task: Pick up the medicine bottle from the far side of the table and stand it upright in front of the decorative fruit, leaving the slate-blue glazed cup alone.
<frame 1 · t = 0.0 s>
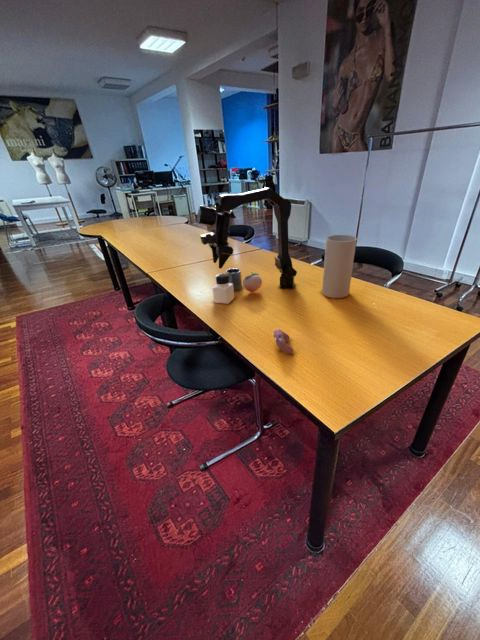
hand: (217, 265, 129), 15 cm above the table, tool pointing down, fingers open, 9 cm apart
medicine bottle: (224, 300, 136), on the table
glazed cup: (234, 288, 148), on the table
decorative fruit: (253, 292, 143), on the table
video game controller: (282, 347, 101), on the table
cylinder vase: (335, 293, 139), on the table
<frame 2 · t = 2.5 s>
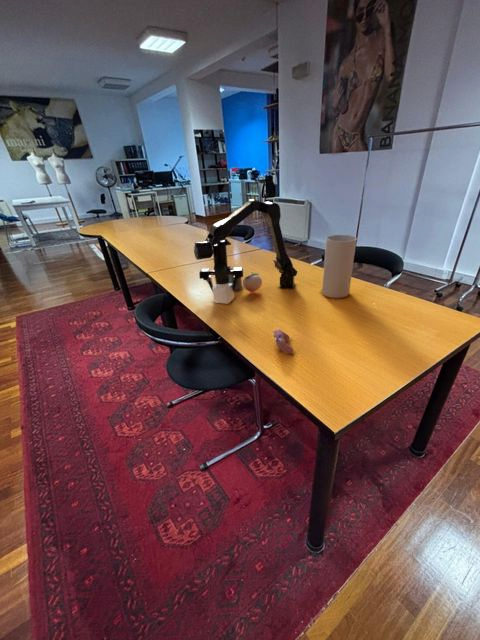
hand: (223, 291, 133), 4 cm above the table, tool pointing down, fingers closed on medicine bottle, 9 cm apart
medicine bottle: (224, 300, 136), on the table, touching gripper
everything else where it was.
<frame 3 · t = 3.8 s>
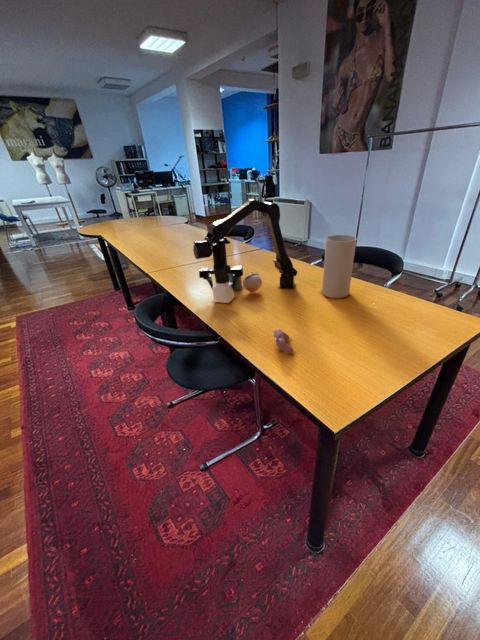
hand: (223, 290, 133), 5 cm above the table, tool pointing down, fingers closed on medicine bottle, 8 cm apart
medicine bottle: (224, 299, 136), on the table, touching gripper
everything else where it was.
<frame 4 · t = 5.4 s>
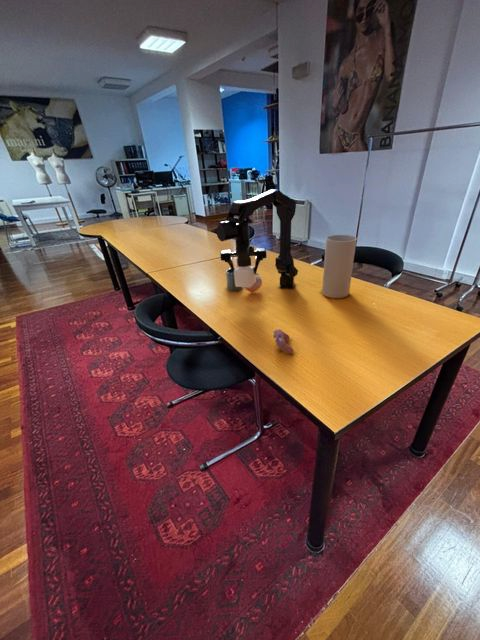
hand: (244, 274, 127), 13 cm above the table, tool pointing down, fingers closed on medicine bottle, 8 cm apart
medicine bottle: (245, 284, 129), point 8 cm above the table, touching gripper
everything else where it was.
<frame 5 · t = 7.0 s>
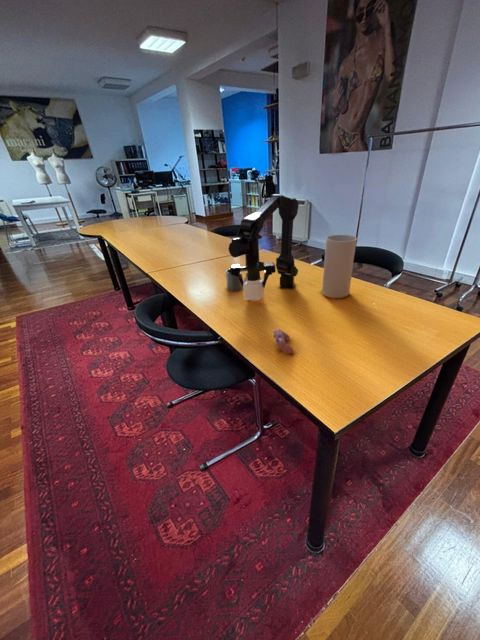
hand: (253, 288, 129), 7 cm above the table, tool pointing down, fingers closed on medicine bottle, 8 cm apart
medicine bottle: (254, 297, 131), point 2 cm above the table, touching gripper
everything else where it was.
when the fingers open (5 cm above the table, at t = 8.2 s): medicine bottle stays where it is, on the table.
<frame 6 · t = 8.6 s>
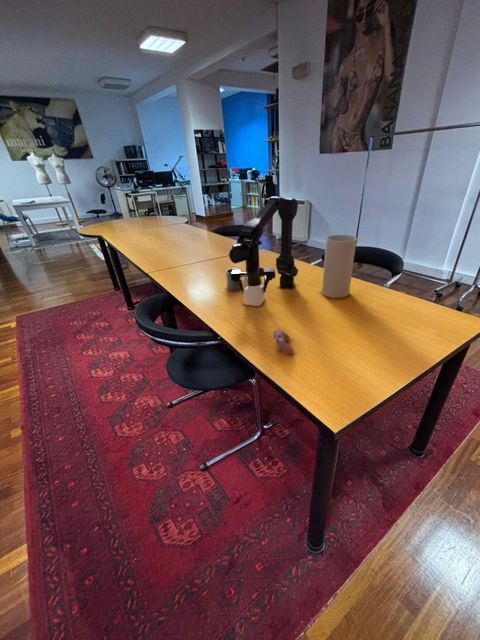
hand: (253, 293, 130), 5 cm above the table, tool pointing down, fingers open, 9 cm apart
medicine bottle: (254, 302, 133), on the table, touching gripper
everything else where it was.
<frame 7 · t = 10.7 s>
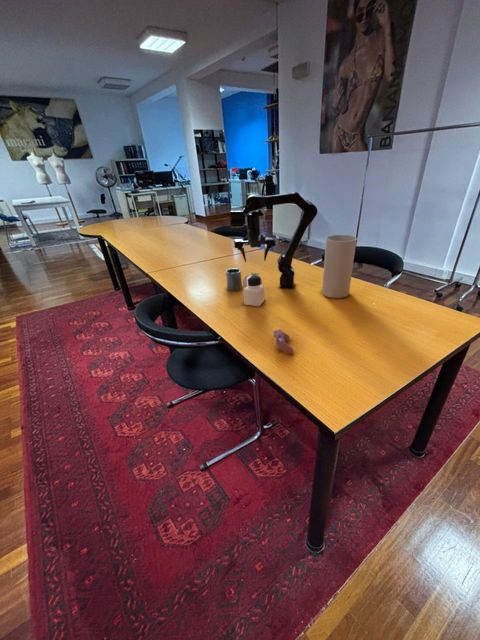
hand: (255, 261, 141), 13 cm above the table, tool pointing down, fingers open, 9 cm apart
medicine bottle: (254, 302, 133), on the table
everything else where it was.
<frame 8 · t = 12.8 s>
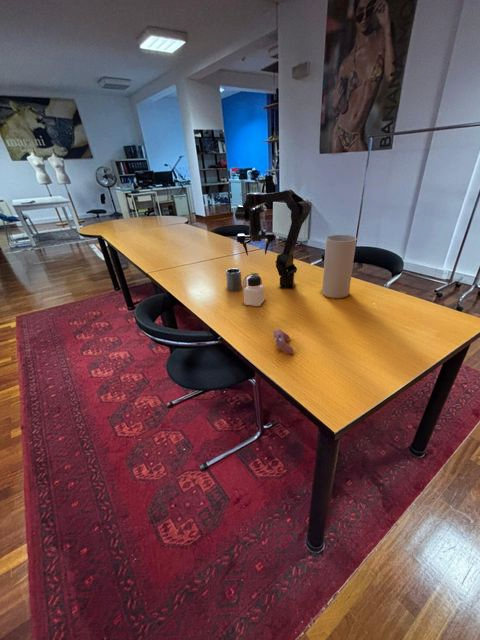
hand: (256, 254, 151), 13 cm above the table, tool pointing down, fingers open, 9 cm apart
nothing on the table moved.
at the end: medicine bottle inside the target area on the table beside the decorative fruit (0.6 cm from its centre), on the table; medicine bottle tilted 0°; decorative fruit moved 0.2 cm from its start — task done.
